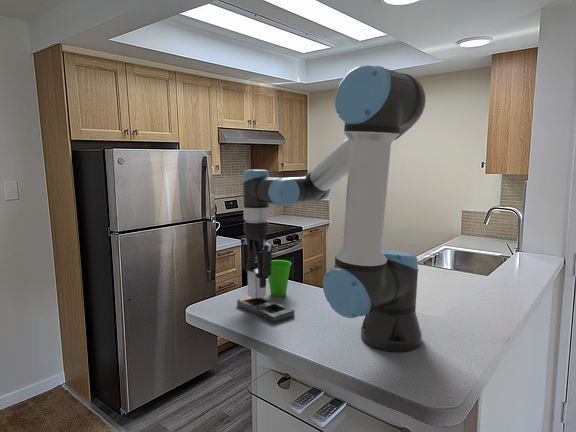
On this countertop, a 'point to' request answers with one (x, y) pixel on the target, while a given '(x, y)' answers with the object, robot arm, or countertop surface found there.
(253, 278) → the gray squarish block
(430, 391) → the countertop surface
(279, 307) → the dark grey flat frame
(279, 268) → the cup
